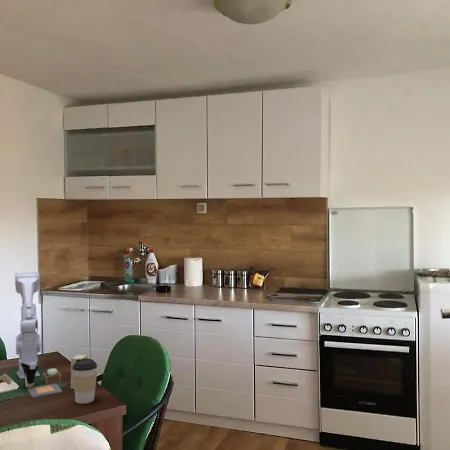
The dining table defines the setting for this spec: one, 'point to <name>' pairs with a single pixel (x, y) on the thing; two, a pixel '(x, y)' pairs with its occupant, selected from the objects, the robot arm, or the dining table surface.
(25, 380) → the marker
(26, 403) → the dining table surface
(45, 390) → the grey square plate
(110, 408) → the dining table surface
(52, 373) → the button
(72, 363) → the skincare box
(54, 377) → the button housing
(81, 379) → the coffee cup
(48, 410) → the dining table surface
